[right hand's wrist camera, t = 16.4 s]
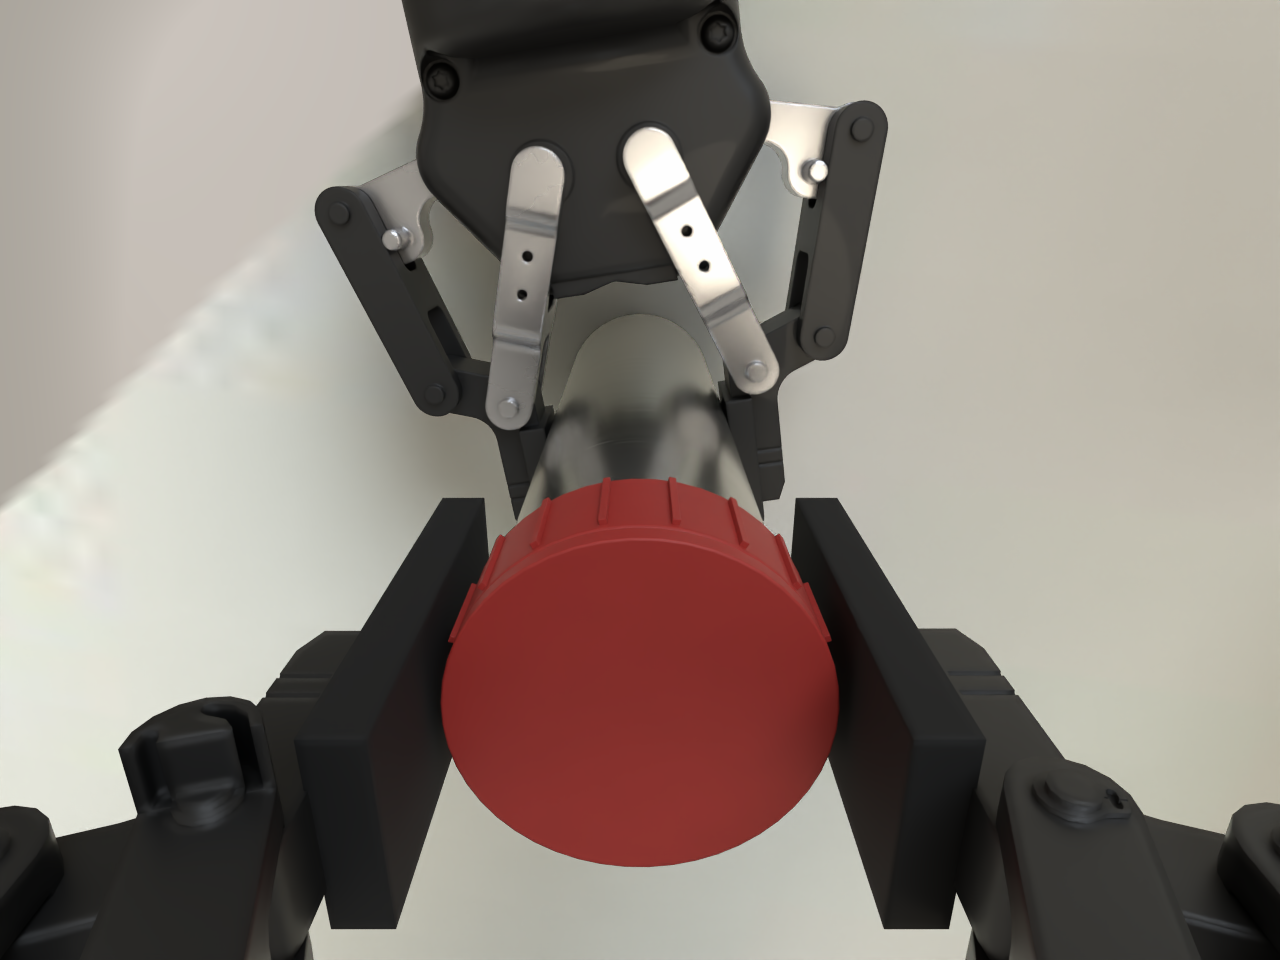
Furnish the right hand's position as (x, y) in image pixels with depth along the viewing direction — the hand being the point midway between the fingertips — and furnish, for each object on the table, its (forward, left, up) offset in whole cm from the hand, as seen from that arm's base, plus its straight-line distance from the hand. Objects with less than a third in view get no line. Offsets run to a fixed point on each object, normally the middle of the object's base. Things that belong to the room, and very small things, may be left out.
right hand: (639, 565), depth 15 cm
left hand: (0, -3, -8) cm, 8 cm away
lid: (0, 0, +4) cm, 4 cm away
